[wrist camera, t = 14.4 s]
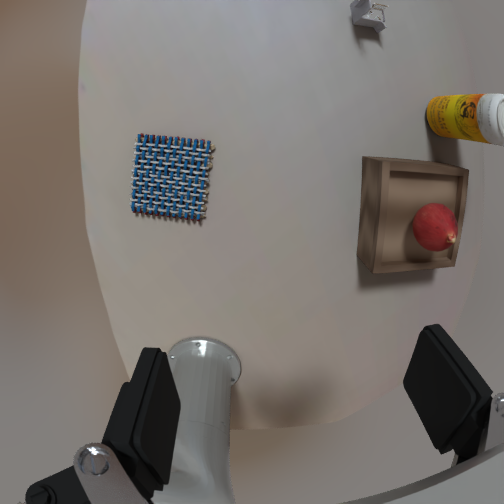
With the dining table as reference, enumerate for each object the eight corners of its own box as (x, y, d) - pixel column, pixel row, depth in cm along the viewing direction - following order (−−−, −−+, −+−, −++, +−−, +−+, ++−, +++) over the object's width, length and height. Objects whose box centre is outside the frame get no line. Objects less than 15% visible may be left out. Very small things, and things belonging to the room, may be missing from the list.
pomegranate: (426, 187, 33) (464, 203, 25) (442, 221, 35) (477, 242, 27) (394, 214, 34) (428, 235, 27) (412, 247, 36) (444, 273, 29)
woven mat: (131, 210, 39) (126, 214, 37) (138, 133, 35) (132, 133, 33) (205, 220, 40) (203, 225, 38) (216, 140, 36) (215, 141, 34)
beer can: (423, 92, 33) (495, 86, 19) (453, 101, 33) (525, 102, 19) (423, 132, 35) (495, 142, 21) (453, 139, 35) (524, 152, 21)
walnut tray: (433, 250, 42) (454, 266, 36) (356, 254, 42) (372, 273, 36) (443, 163, 36) (468, 169, 31) (362, 156, 36) (382, 161, 30)
